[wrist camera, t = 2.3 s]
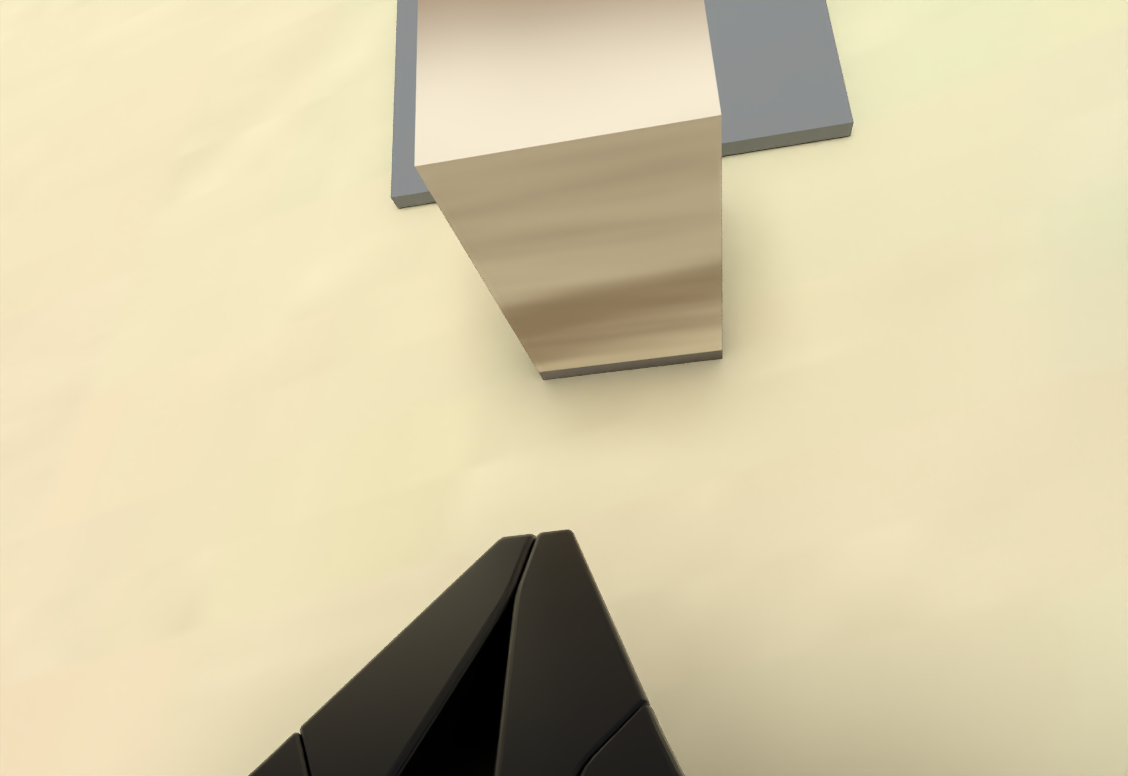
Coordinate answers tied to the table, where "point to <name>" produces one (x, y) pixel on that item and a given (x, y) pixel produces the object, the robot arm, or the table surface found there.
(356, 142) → the table surface
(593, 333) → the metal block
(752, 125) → the mat
